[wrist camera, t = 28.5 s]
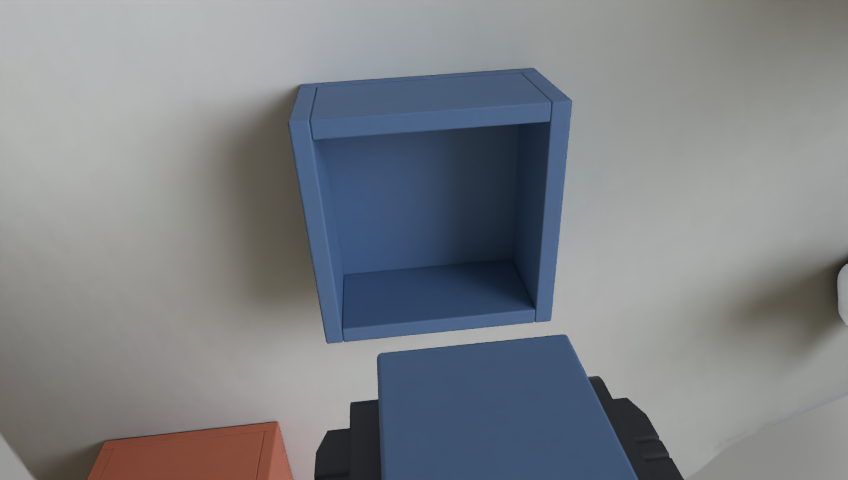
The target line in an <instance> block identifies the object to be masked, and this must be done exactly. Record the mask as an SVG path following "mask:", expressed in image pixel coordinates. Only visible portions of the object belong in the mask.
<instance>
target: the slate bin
mask: <svg viewBox="0 0 848 480" xmlns="http://www.w3.org/2000/svg"><path fill="white" fill-rule="evenodd" d="M571 107H572V100H571V99H570V98H568V97H567V96H566V95H565V94H564V93H562V92H561V91H560V90H559V89H558V88H557V87H555V86H554V85H553V84H552V83H551V82H550V81H548V80H547V79H546V78H545V77H544V76H543V75H541V74H540V73H539V72H538V71H537V70H535V69H534V68H528V69H514V70H499V71H485V72H471V73H457V74H443V75H429V76H414V77H400V78H386V79H372V80H358V81H344V82H329V83H315V84H301V85H300V87H299V91H298V94H297V97H296V100H295V103H294V106H293V109H292V112H291V115H290V118H289V122H288V126H289V132H290V138H291V143H292V149H293V155H294V160H295V166H296V172H297V178H298V183H299V189H300V195H301V200H302V206H303V212H304V218H305V223H306V229H307V235H308V240H309V246H310V252H311V258H312V263H313V269H314V275H315V280H316V286H317V292H318V297H319V303H320V309H321V315H322V320H323V326H324V332H325V337H326V342H327V343H328V344H329V343H338V342H343V340H344V342H349V341H358V340H368V339H378V338H387V337H397V336H407V335H416V334H426V333H436V332H445V331H455V330H465V329H474V328H484V327H494V326H503V325H513V324H523V323H532V322H534V321H535V322H545V321H551V315H552V304H553V294H554V283H555V273H556V263H557V252H558V242H559V231H560V221H561V211H562V200H563V190H564V179H565V169H566V159H567V148H568V138H569V127H570V117H571Z"/></svg>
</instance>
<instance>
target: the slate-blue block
mask: <svg viewBox="0 0 848 480" xmlns="http://www.w3.org/2000/svg"><path fill="white" fill-rule="evenodd" d="M377 374H378V400H379V427H380V453H381V480H638V478H637V476H636V474H635V472H634V470H633V468H632V466H631V464H630V462H629V460H628V458H627V456H626V454H625V452H624V450H623V448H622V446H621V444H620V442H619V440H618V438H617V436H616V434H615V432H614V430H613V427H612V425H611V423H610V421H609V419H608V417H607V415H606V413H605V411H604V409H603V407H602V405H601V403H600V401H599V399H598V397H597V395H596V393H595V391H594V389H593V387H592V385H591V383H590V381H589V379H588V377H587V375H586V373H585V371H584V369H583V367H582V365H581V363H580V361H579V359H578V357H577V355H576V353H575V351H574V349H573V347H572V345H571V343H570V341H569V338H568V336H566V335H553V336H544V337H534V338H524V339H515V340H505V341H495V342H486V343H476V344H466V345H456V346H447V347H437V348H427V349H418V350H408V351H398V352H389V353H381V354H379V355H378V357H377Z"/></svg>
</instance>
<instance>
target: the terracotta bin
mask: <svg viewBox="0 0 848 480" xmlns="http://www.w3.org/2000/svg"><path fill="white" fill-rule="evenodd" d="M87 480H293V478H292V474H291V470H290V466H289V462H288V458H287V455H286V451H285V447H284V443H283V439H282V435H281V431H280V428H279V424H278V422H271V423H262V424H253V425H244V426H235V427H227V428H218V429H209V430H200V431H191V432H182V433H173V434H164V435H155V436H147V437H138V438H129V439H120V440H111V441H105V442H104V444H103V446H102V449H101V451H100V453H99V455H98V457H97V459H96V461H95V463H94V466H93V468H92V470H91V472H90V474H89V476H88V478H87Z"/></svg>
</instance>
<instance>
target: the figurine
mask: <svg viewBox="0 0 848 480" xmlns="http://www.w3.org/2000/svg"><path fill="white" fill-rule="evenodd" d="M837 289H838V311H839V314H840V316H841V318H842V319H843V321H844V322H845V324H846V325H847V327H848V263H847V264H846V265H845V266H844V267H843V268H842V269H841V270H840V272H839V275H838V279H837Z"/></svg>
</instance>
